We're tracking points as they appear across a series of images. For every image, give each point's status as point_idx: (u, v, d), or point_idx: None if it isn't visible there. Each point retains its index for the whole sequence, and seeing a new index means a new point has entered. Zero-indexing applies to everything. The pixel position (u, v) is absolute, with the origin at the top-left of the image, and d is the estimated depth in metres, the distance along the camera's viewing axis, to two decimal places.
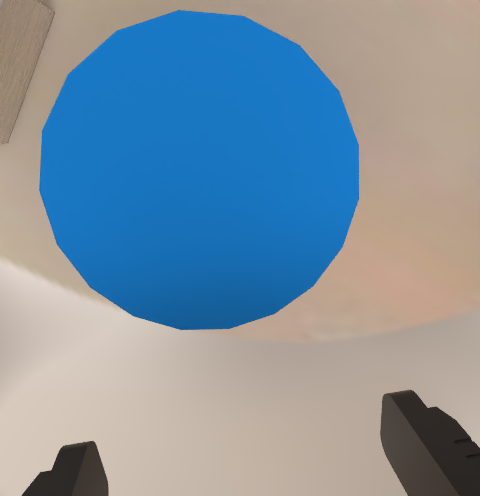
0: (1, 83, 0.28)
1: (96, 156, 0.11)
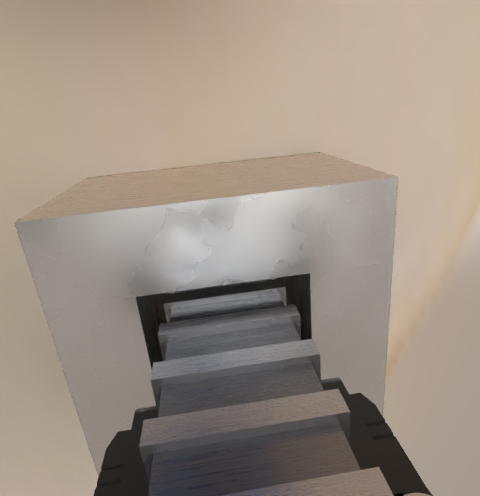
0: (225, 178, 0.14)
1: None
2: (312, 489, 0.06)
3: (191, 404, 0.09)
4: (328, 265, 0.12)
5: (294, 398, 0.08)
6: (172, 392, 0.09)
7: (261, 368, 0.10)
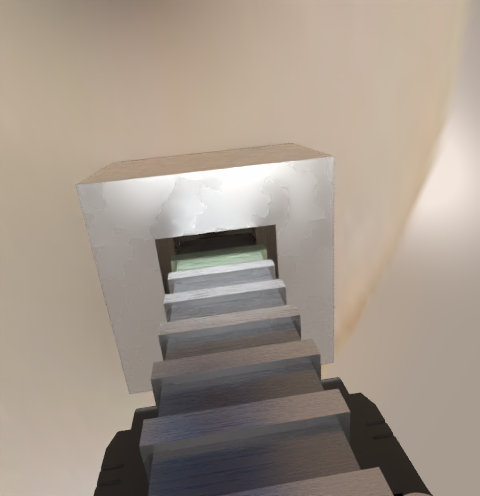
0: (217, 160, 0.20)
1: None
2: (312, 489, 0.06)
3: (191, 404, 0.09)
4: (288, 218, 0.18)
5: (294, 398, 0.08)
6: (172, 392, 0.09)
7: (261, 368, 0.10)
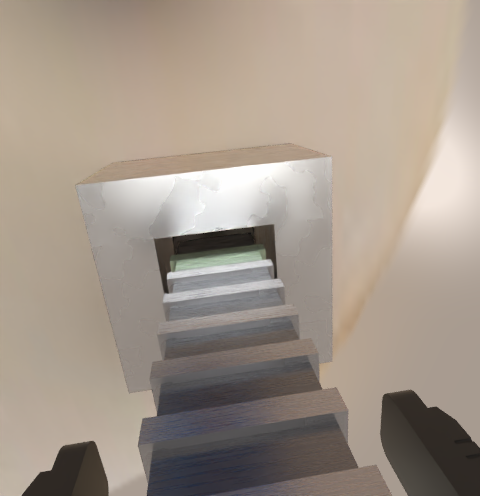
0: (216, 160, 0.20)
1: None
2: (310, 487, 0.06)
3: (190, 403, 0.09)
4: (286, 218, 0.18)
5: (292, 397, 0.08)
6: (171, 391, 0.09)
7: (260, 367, 0.10)
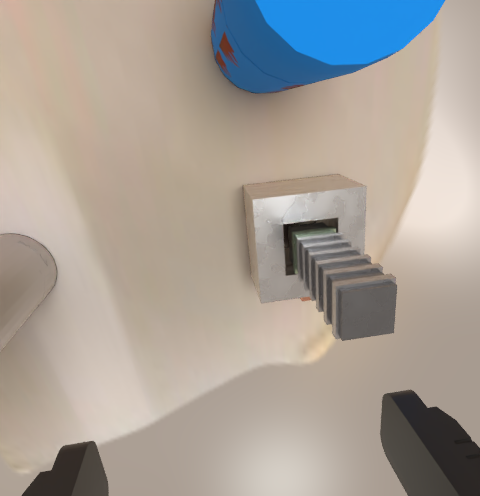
0: (306, 185, 0.40)
1: (367, 25, 0.17)
2: (375, 277, 0.27)
3: (333, 269, 0.29)
4: (344, 214, 0.38)
5: (365, 265, 0.28)
6: (325, 267, 0.29)
7: (352, 261, 0.30)
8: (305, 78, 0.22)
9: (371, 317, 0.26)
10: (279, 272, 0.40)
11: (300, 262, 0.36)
